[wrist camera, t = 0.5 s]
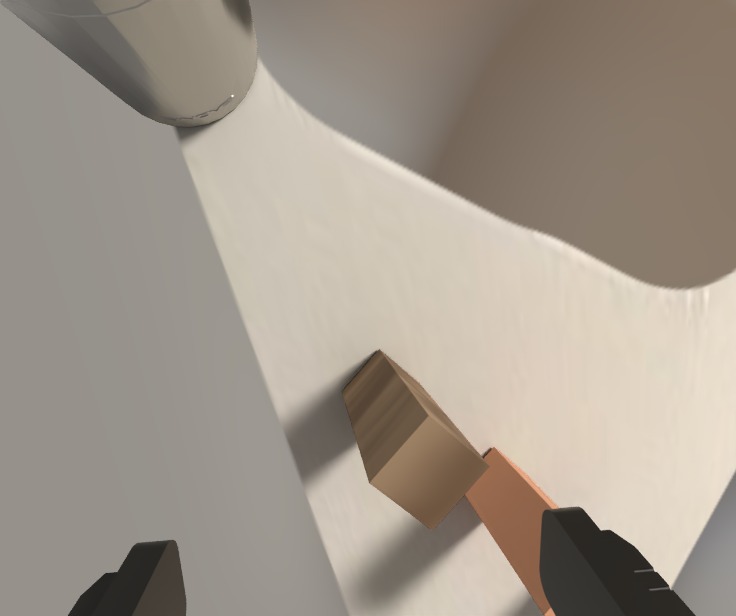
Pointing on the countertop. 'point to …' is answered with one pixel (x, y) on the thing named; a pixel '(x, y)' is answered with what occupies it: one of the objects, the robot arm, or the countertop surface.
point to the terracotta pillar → (513, 518)
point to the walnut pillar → (409, 442)
